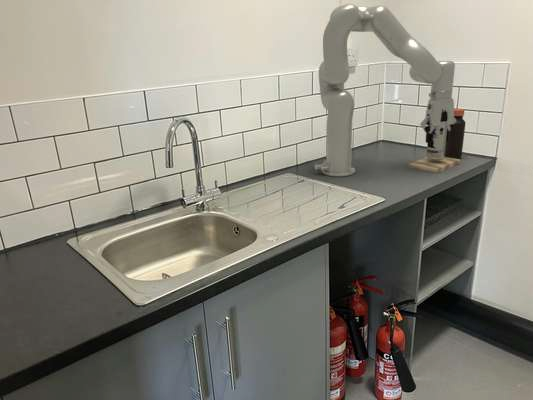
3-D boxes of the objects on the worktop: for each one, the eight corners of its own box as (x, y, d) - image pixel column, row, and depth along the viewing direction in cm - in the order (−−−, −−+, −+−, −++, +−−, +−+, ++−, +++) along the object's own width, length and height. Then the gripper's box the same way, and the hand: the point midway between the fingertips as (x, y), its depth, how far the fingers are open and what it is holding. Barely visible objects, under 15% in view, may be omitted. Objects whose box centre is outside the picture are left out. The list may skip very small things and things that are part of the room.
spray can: (422, 157, 175) (426, 106, 168) (435, 155, 177) (440, 105, 170) (434, 161, 169) (439, 109, 162) (448, 158, 172) (453, 107, 165)
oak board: (437, 173, 164) (437, 169, 164) (408, 167, 173) (408, 163, 173) (460, 163, 175) (460, 159, 175) (432, 158, 184) (432, 154, 184)
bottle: (456, 155, 187) (461, 107, 180) (464, 159, 181) (470, 110, 174) (441, 156, 187) (445, 108, 180) (448, 160, 180) (453, 111, 173)
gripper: (428, 98, 159) (424, 146, 165) (467, 94, 164) (461, 141, 170) (415, 96, 166) (411, 142, 172) (452, 92, 171) (448, 137, 177)
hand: (436, 141), depth 171 cm, fingers closed on spray can, 6 cm apart
